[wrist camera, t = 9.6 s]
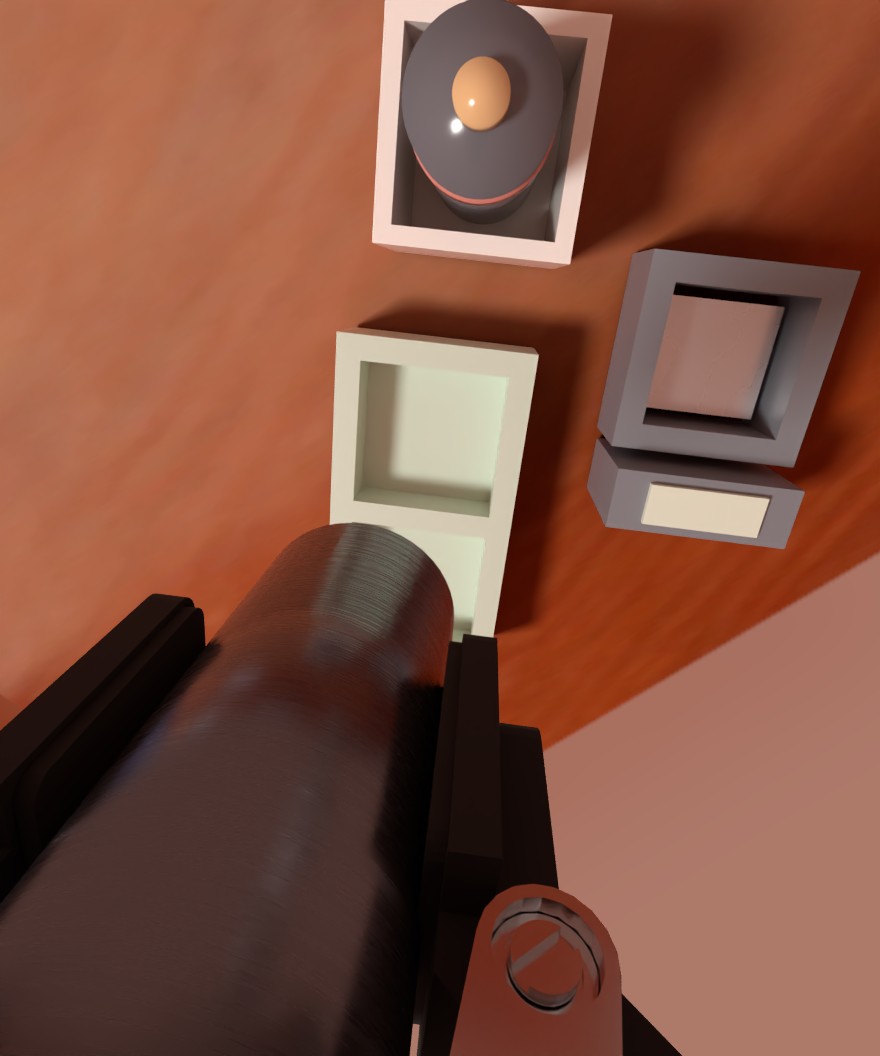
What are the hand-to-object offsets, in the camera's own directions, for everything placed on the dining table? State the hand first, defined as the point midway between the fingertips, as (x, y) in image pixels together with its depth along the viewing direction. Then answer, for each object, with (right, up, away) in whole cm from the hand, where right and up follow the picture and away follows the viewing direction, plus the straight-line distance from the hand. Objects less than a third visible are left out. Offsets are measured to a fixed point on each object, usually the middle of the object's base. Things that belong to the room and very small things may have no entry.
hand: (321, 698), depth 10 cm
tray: (+1, +4, +19) cm, 20 cm away
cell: (0, +1, +3) cm, 3 cm away
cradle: (+13, +9, +17) cm, 23 cm away
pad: (+13, +10, +17) cm, 24 cm away
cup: (+4, +17, +14) cm, 22 cm away
